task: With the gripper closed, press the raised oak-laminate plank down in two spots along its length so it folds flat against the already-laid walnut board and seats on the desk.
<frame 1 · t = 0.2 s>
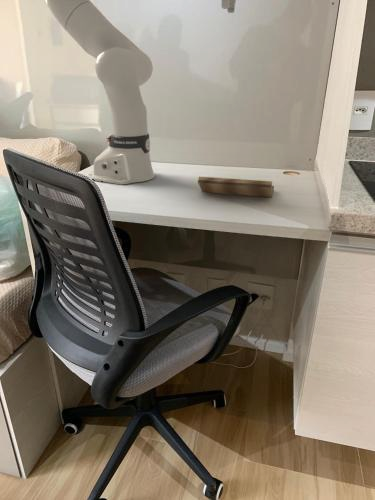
hand: (228, 10, 105), 47 cm above the table, fingers open, 8 cm apart
laid board: (238, 191, 117), on the table
plank: (235, 187, 110), point 3 cm above the table, hinge at 40.0°
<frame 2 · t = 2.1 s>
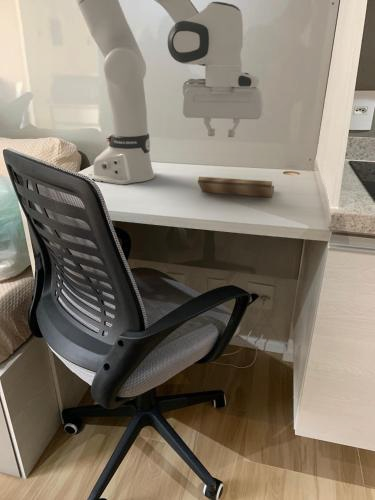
hand: (221, 136, 103), 17 cm above the table, fingers open, 4 cm apart
nothing on the table moved.
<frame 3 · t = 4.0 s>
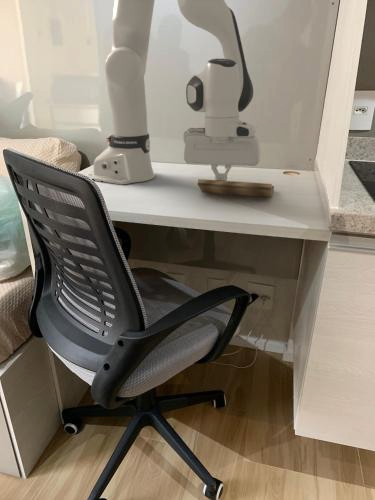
hand: (221, 180, 108), 5 cm above the table, fingers closed, pressing on plank
plank: (235, 188, 110), point 3 cm above the table, hinge at 33.9°, touching gripper
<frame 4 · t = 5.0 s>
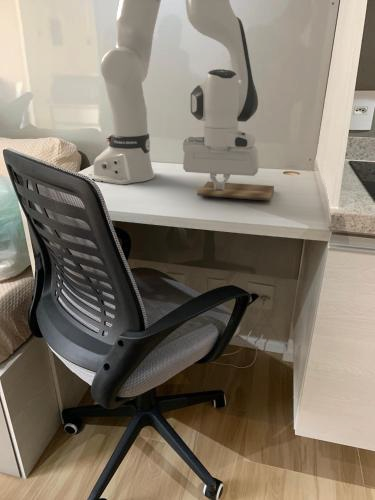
hand: (219, 189, 109), 3 cm above the table, fingers closed
plank: (234, 193, 110), point 1 cm above the table, hinge at 11.0°
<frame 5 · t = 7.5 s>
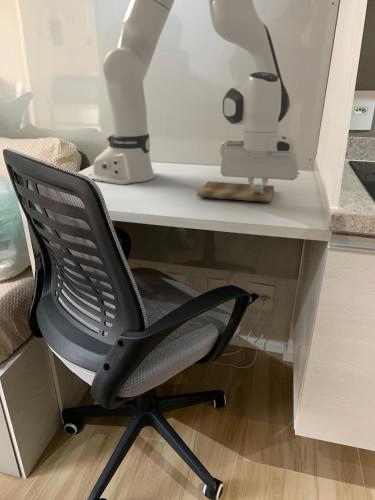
hand: (257, 193, 107), 2 cm above the table, fingers closed, pressing on plank
plank: (234, 194, 110), point 1 cm above the table, hinge at 7.9°, touching gripper
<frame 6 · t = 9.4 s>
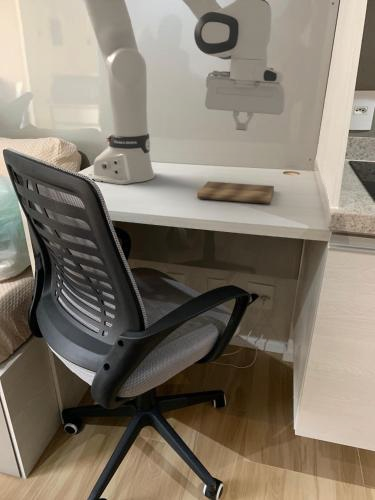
hand: (241, 130, 104), 18 cm above the table, fingers closed
plank: (234, 195, 110), point 1 cm above the table, hinge at 3.5°
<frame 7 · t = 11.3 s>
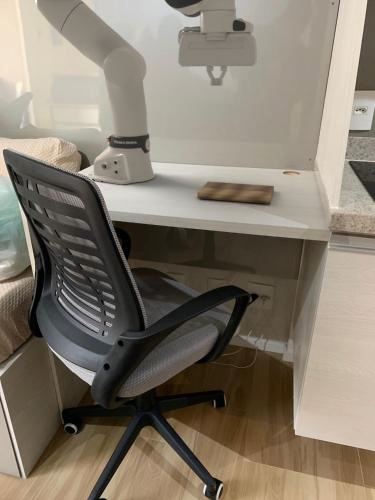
hand: (216, 85, 105), 29 cm above the table, fingers closed
nothing on the table moved.
at the end: plank at +4° (first picture: +40°); the gripper is holding nothing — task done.
